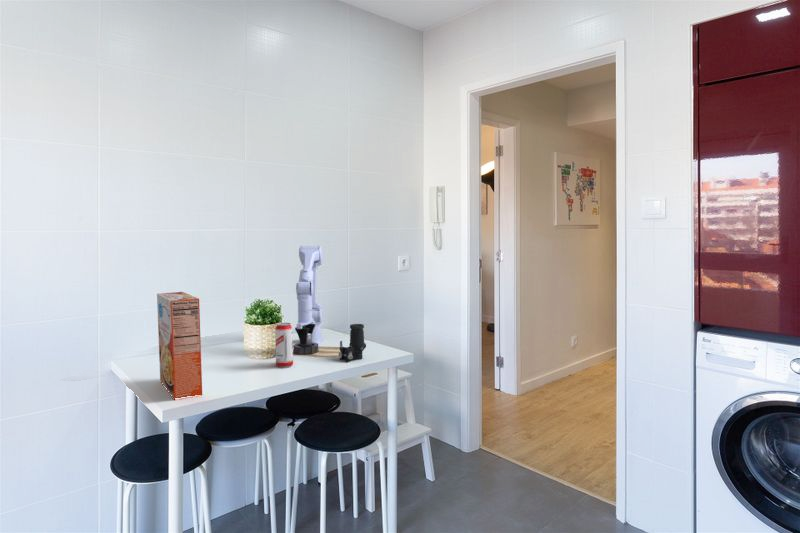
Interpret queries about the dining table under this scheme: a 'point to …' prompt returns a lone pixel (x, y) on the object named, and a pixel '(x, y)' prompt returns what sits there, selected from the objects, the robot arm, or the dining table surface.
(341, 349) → the scope
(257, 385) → the dining table surface
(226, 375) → the dining table surface
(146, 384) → the dining table surface
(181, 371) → the cereal box
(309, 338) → the grey domed cylinder
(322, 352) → the tan wooden board
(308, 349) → the segmented dark ring
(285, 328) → the beer can
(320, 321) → the robot arm
